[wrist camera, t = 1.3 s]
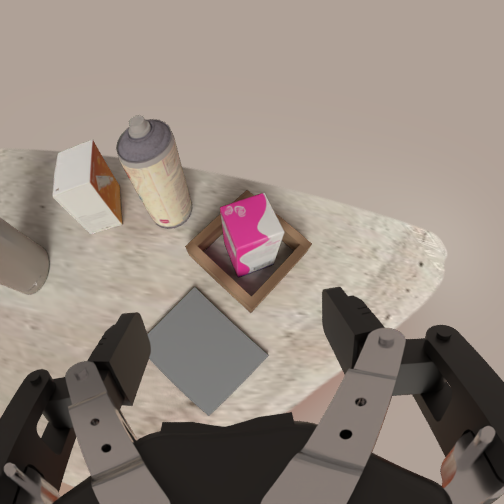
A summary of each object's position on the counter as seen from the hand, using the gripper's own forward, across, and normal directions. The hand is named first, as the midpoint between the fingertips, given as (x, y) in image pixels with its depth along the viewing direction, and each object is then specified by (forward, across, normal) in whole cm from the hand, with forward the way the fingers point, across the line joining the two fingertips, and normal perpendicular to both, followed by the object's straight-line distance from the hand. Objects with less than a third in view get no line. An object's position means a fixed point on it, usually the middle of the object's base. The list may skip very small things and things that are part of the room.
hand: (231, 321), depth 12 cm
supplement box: (+30, -1, +7) cm, 31 cm away
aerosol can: (+34, +10, 0) cm, 36 cm away
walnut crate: (+30, -1, +7) cm, 30 cm away
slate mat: (+21, +7, +17) cm, 28 cm away
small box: (+35, +22, -2) cm, 41 cm away
